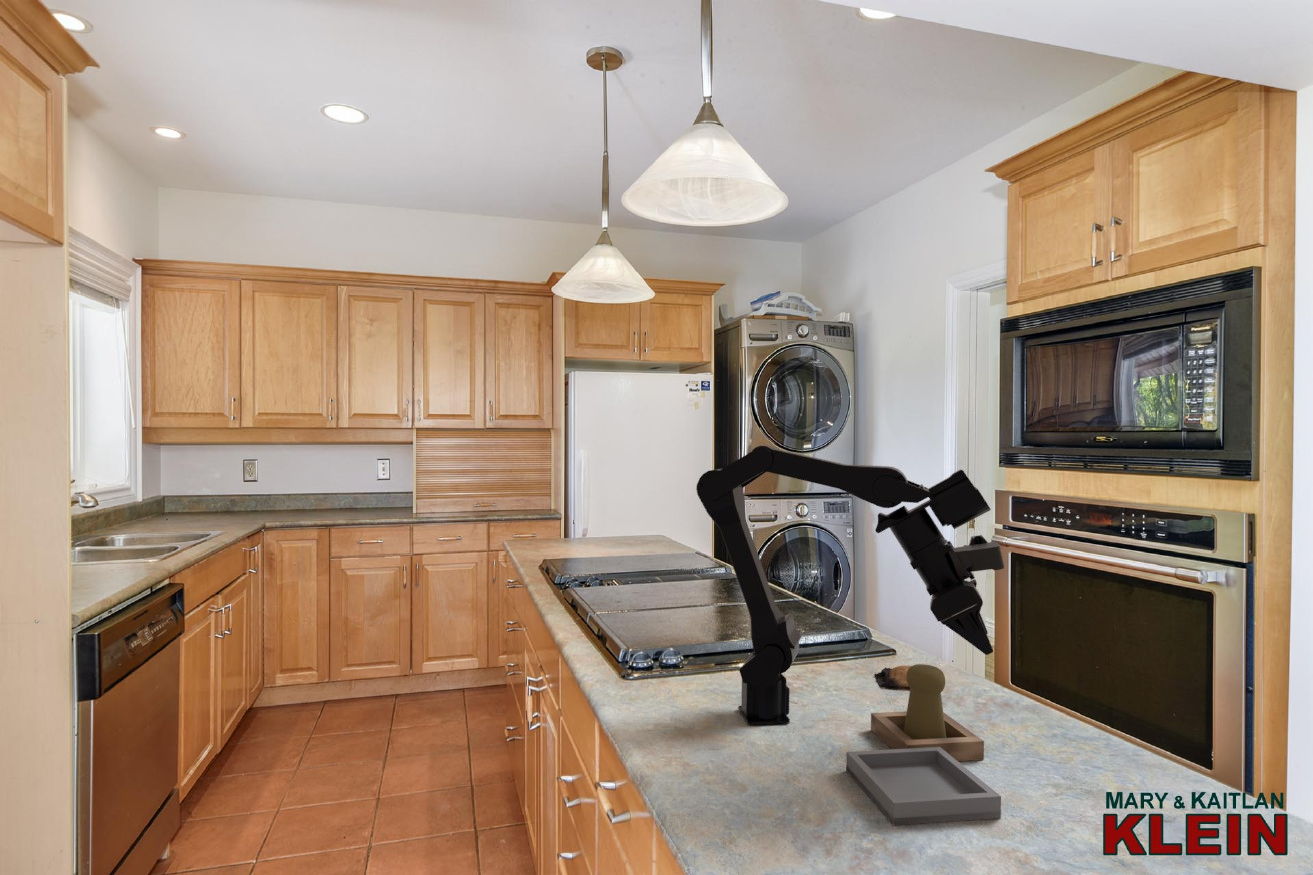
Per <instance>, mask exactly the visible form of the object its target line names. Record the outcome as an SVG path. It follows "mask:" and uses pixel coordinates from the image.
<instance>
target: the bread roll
mask: <svg viewBox="0 0 1313 875" xmlns="http://www.w3.org/2000/svg"><path fill="white" fill-rule="evenodd" d="M911 666H912V665H898V666H895V667H892V668H891V667H884V668H882V669H881V670H880V672H878V673H874V674H873V675H874V679H875V681H876V683H877V685H878V686H879V687H880V688H883V689H887V690H890V691H903V692H904V691H905V692H907V691H908V692H910V687H909V686H908V684H907V680H906V675H907V671H908V669H909V668H910V667H911Z"/></svg>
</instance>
